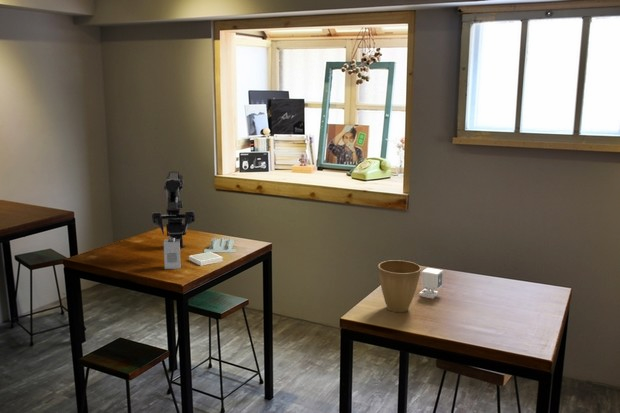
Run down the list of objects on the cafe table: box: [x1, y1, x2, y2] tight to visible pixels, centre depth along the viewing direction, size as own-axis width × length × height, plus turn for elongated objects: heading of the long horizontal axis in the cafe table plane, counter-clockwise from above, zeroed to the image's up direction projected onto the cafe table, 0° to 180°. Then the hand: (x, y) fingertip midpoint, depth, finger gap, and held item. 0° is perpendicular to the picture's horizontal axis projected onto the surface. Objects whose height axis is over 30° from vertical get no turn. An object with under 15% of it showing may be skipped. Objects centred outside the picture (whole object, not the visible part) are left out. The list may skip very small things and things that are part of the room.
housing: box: [163, 237, 182, 270], centre depth 266 cm, size 5×6×13 cm
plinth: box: [188, 252, 224, 267], centre depth 277 cm, size 11×11×2 cm
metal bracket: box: [203, 236, 237, 254], centre depth 296 cm, size 14×6×15 cm
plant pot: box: [377, 259, 422, 313], centre depth 218 cm, size 15×15×16 cm
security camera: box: [418, 267, 444, 299], centre depth 232 cm, size 6×7×10 cm
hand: (173, 233), depth 273 cm, fingers open, 9 cm apart
